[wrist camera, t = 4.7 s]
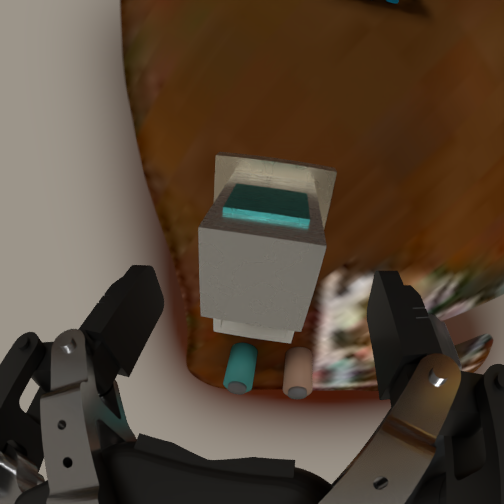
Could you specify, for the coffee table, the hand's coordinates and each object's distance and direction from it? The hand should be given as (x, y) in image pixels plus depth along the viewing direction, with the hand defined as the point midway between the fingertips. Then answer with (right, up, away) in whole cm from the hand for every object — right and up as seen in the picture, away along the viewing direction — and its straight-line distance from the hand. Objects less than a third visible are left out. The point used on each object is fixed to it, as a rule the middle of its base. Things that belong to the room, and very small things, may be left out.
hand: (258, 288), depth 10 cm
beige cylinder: (+8, -16, +34) cm, 38 cm away
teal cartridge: (-1, -15, +35) cm, 38 cm away
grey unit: (+2, +6, +21) cm, 22 cm away
